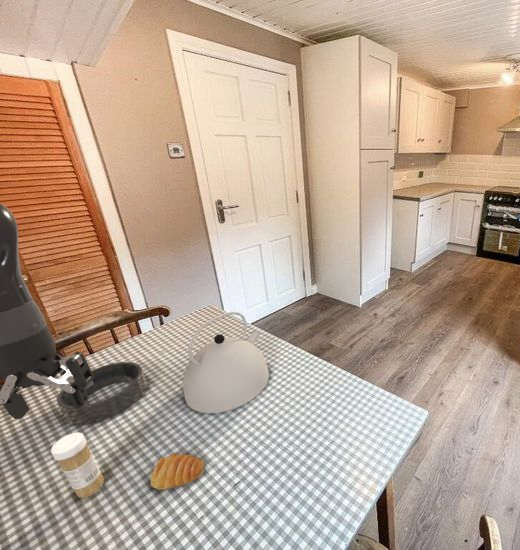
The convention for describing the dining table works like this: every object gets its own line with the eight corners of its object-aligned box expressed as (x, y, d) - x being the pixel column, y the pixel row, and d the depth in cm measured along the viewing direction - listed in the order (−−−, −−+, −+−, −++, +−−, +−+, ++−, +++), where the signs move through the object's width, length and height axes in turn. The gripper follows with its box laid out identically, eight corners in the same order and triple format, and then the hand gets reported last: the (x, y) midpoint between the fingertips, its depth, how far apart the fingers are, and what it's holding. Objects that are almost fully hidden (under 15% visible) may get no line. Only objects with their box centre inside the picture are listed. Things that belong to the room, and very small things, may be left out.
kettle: (240, 349, 105) (228, 290, 97) (290, 369, 95) (282, 305, 87) (167, 396, 85) (145, 327, 76) (222, 428, 75) (203, 353, 66)
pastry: (210, 458, 67) (206, 446, 66) (197, 490, 61) (192, 477, 60) (166, 462, 67) (161, 450, 65) (148, 494, 60) (142, 481, 59)
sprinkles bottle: (100, 474, 64) (77, 427, 59) (110, 484, 62) (87, 437, 57) (72, 494, 60) (45, 446, 55) (82, 506, 58) (55, 457, 53)
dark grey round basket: (48, 433, 74) (38, 414, 71) (90, 383, 89) (83, 367, 87) (131, 418, 78) (124, 400, 75) (157, 373, 93) (151, 357, 91)
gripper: (80, 314, 52) (110, 388, 58) (-24, 324, 49) (19, 402, 55) (50, 338, 45) (87, 419, 51) (-74, 352, 42) (-18, 437, 48)
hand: (52, 410), depth 53 cm, fingers open, 8 cm apart
